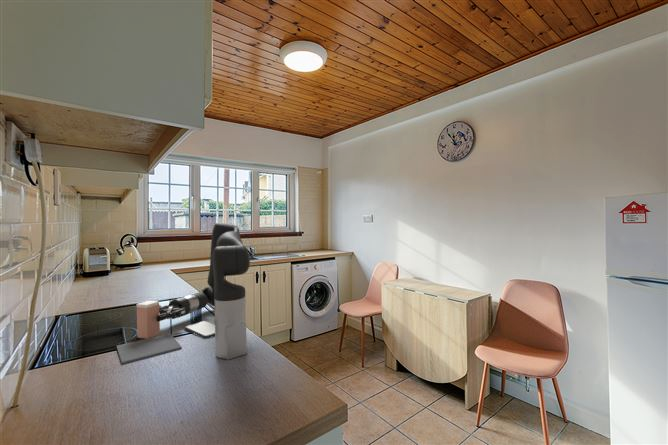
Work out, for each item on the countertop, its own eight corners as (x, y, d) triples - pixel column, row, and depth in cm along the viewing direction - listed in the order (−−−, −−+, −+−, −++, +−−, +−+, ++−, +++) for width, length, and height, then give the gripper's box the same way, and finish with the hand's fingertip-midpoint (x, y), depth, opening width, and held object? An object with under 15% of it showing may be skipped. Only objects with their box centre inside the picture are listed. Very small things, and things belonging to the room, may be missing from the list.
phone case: (227, 333, 114) (204, 324, 124) (227, 329, 114) (204, 320, 124) (205, 341, 107) (182, 330, 117) (205, 336, 107) (182, 326, 117)
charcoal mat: (181, 348, 100) (181, 346, 100) (121, 364, 89) (121, 362, 89) (170, 335, 112) (170, 333, 112) (116, 347, 102) (116, 345, 102)
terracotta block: (159, 333, 113) (159, 301, 113) (147, 338, 109) (146, 305, 109) (150, 332, 115) (149, 300, 115) (137, 337, 110) (136, 304, 110)
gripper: (171, 295, 129) (134, 306, 114) (197, 297, 124) (162, 309, 109) (171, 313, 129) (134, 326, 114) (197, 316, 125) (163, 330, 109)
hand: (148, 317), depth 112 cm, fingers open, 8 cm apart
